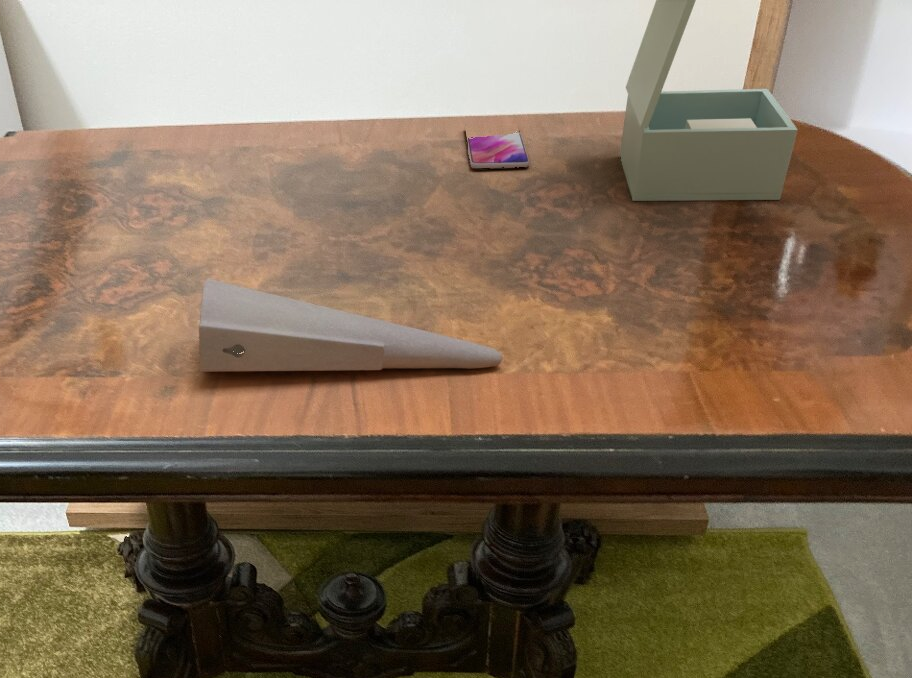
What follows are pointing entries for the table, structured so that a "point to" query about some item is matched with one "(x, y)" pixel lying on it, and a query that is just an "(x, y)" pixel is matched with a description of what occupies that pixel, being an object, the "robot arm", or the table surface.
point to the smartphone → (498, 151)
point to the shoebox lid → (656, 55)
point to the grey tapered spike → (316, 337)
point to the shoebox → (708, 148)
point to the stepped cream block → (719, 123)
